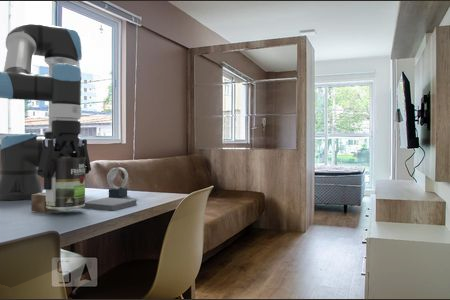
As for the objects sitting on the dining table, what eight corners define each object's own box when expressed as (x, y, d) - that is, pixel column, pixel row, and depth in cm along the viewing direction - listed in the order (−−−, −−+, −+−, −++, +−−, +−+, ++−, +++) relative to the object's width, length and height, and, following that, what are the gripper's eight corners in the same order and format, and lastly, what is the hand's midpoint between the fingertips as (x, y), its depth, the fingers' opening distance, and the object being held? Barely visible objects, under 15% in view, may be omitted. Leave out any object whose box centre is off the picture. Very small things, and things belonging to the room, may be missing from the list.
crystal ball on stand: (112, 195, 136) (113, 166, 136) (131, 196, 134) (131, 167, 134) (104, 197, 131) (104, 167, 131) (122, 198, 128) (123, 168, 128)
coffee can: (92, 204, 104) (92, 156, 104) (70, 211, 94) (70, 158, 94) (61, 202, 106) (61, 155, 106) (37, 208, 96) (37, 157, 96)
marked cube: (31, 211, 103) (31, 193, 102) (45, 208, 107) (45, 191, 107) (44, 213, 101) (44, 194, 101) (58, 210, 105) (58, 192, 105)
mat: (81, 207, 109) (81, 202, 109) (106, 201, 121) (106, 197, 120) (112, 210, 105) (112, 205, 105) (136, 204, 116) (136, 199, 116)
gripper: (42, 117, 88) (42, 206, 88) (104, 122, 109) (103, 193, 109) (20, 117, 90) (20, 203, 91) (84, 122, 111) (84, 192, 112)
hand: (65, 198), depth 100 cm, fingers closed on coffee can, 10 cm apart
